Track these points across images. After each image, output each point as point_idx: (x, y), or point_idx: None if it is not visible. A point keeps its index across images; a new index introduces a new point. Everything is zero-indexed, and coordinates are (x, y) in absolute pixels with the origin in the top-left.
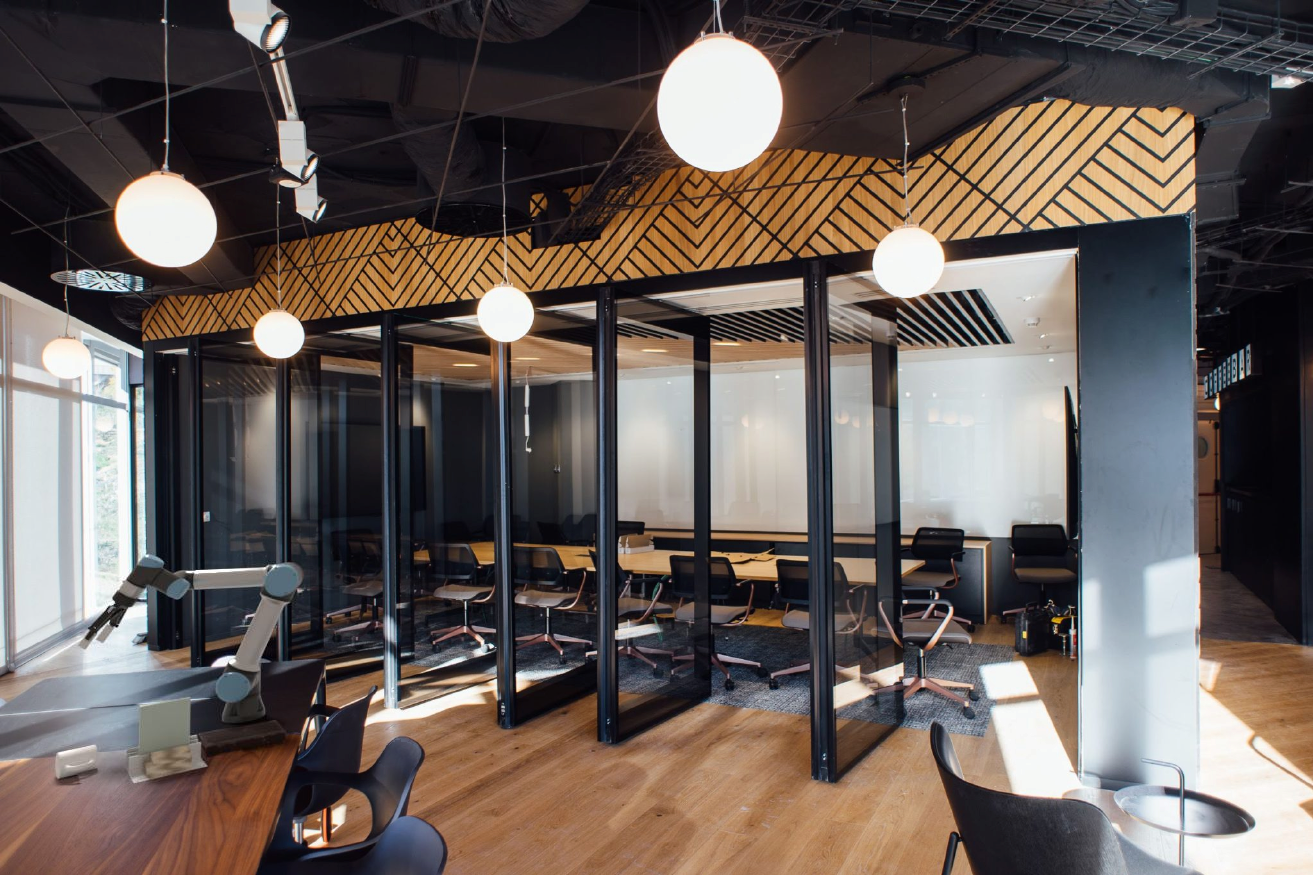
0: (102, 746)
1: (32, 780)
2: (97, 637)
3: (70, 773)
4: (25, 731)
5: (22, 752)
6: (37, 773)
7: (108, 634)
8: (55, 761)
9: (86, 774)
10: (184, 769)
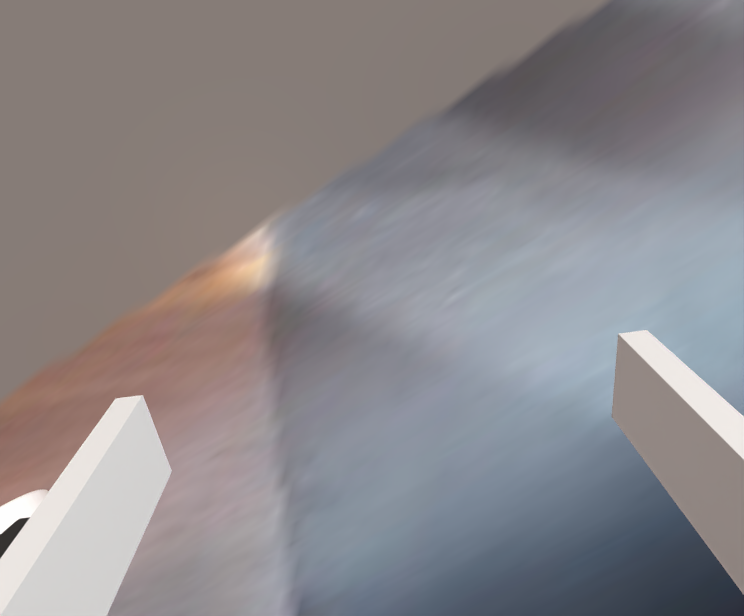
0: (346, 471)
1: (34, 435)
2: (633, 355)
3: None
4: (597, 52)
5: (337, 211)
6: (98, 408)
7: (685, 512)
8: (28, 493)
9: None
10: None
